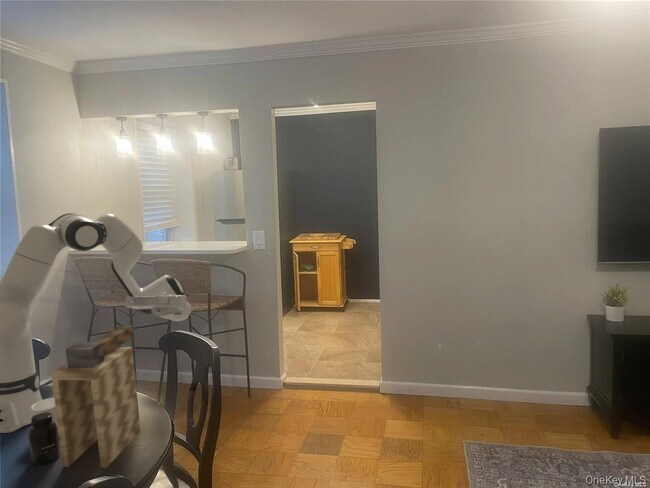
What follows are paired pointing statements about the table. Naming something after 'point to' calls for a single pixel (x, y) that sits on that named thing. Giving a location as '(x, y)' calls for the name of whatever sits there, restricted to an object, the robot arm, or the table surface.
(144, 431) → the table surface
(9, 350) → the robot arm
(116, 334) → the mallet
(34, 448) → the supplement bottle
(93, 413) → the stand
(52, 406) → the white cup
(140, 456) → the table surface
